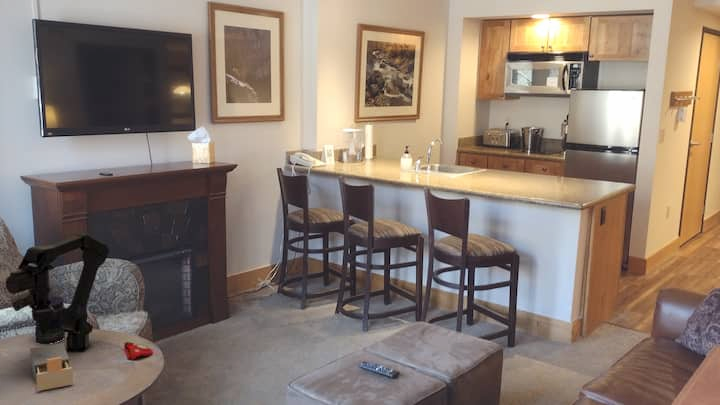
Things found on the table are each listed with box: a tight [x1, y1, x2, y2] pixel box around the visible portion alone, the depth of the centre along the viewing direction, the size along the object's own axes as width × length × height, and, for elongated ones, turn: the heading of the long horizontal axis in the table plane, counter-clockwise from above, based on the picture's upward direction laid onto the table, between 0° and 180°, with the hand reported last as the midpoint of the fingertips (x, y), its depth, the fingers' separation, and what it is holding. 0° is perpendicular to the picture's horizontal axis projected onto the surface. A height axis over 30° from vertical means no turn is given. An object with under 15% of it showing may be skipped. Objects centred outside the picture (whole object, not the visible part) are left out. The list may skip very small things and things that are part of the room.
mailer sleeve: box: [29, 342, 70, 383], centre depth 201 cm, size 14×10×6 cm
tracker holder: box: [123, 340, 154, 361], centre depth 217 cm, size 12×4×10 cm
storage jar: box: [34, 296, 66, 345], centre depth 224 cm, size 10×10×15 cm
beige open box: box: [36, 357, 74, 392], centre depth 194 cm, size 14×10×10 cm
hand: (41, 329), depth 203 cm, fingers open, 9 cm apart
